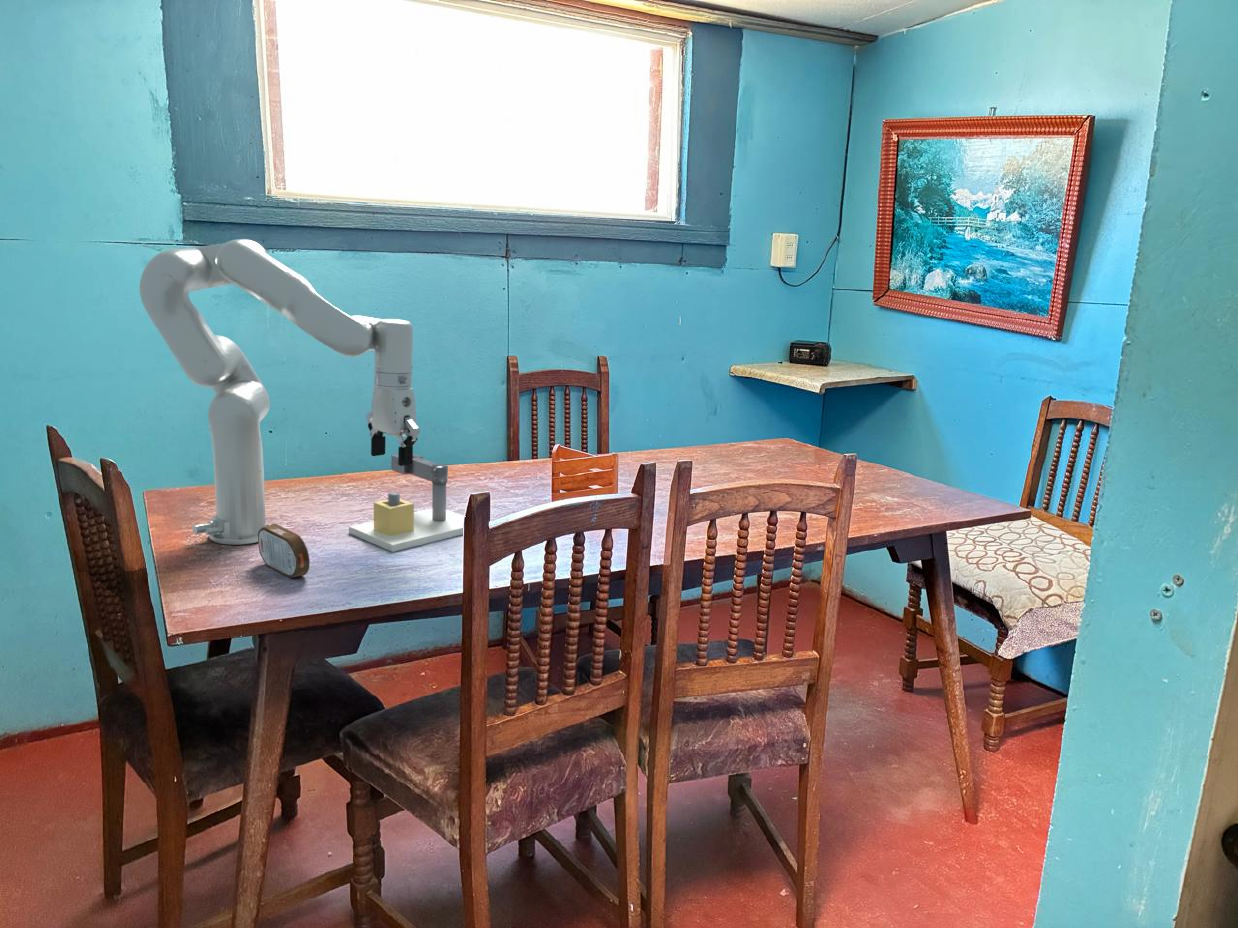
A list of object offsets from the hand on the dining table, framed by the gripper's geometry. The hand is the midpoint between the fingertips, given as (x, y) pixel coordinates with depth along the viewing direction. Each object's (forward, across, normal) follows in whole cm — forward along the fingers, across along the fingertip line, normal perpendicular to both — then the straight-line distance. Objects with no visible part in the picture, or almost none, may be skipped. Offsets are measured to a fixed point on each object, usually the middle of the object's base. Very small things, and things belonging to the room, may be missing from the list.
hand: (391, 459), depth 198 cm
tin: (+18, -5, +27) cm, 33 cm away
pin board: (+17, 0, -7) cm, 18 cm away
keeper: (+7, +6, -13) cm, 15 cm away
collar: (+16, 0, -1) cm, 16 cm away
